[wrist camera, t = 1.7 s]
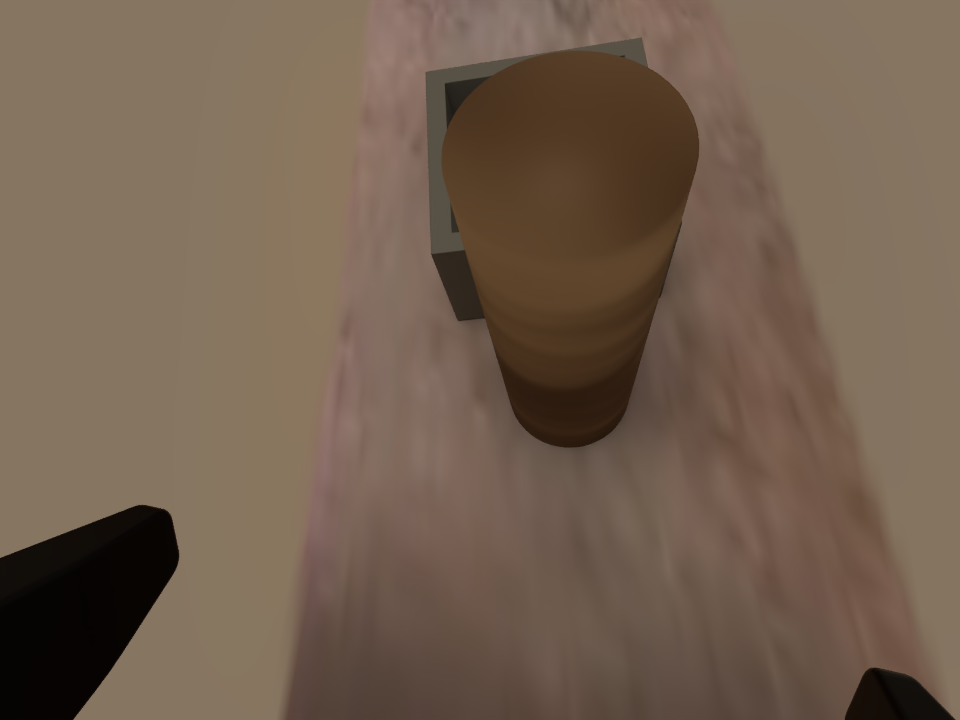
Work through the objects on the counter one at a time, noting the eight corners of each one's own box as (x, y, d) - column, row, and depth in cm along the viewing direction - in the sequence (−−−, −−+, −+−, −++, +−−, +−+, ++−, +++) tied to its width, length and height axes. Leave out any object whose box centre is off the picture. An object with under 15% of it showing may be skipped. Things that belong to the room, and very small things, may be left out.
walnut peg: (599, 468, 21) (637, 294, 9) (488, 416, 22) (396, 204, 10) (647, 362, 22) (737, 86, 10) (540, 318, 24) (510, 27, 12)
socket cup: (659, 297, 23) (682, 222, 19) (457, 320, 24) (431, 254, 19) (629, 136, 26) (641, 37, 22) (450, 162, 27) (425, 72, 22)
